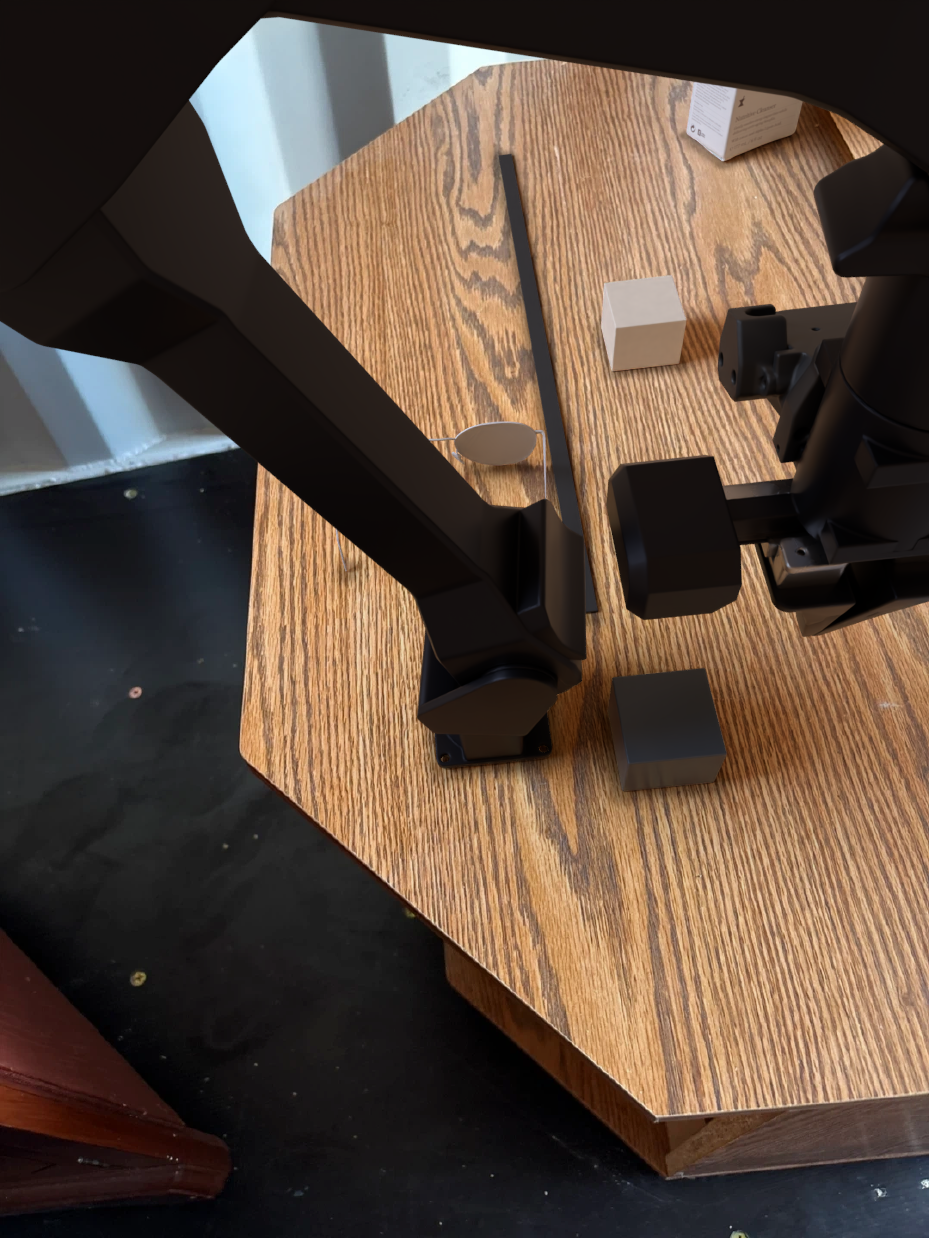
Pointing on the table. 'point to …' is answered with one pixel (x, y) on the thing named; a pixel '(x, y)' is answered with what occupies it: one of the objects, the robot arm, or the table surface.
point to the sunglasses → (492, 447)
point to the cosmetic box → (739, 118)
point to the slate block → (665, 729)
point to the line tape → (544, 369)
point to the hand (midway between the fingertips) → (807, 627)
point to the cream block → (642, 323)
